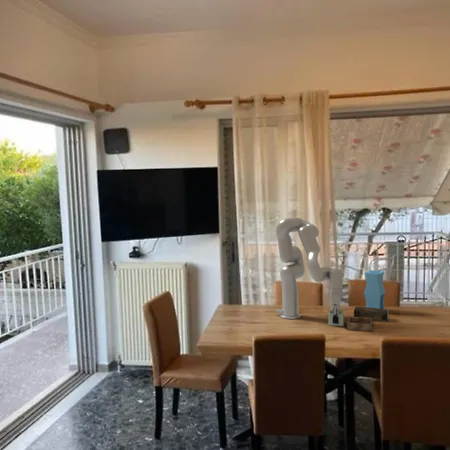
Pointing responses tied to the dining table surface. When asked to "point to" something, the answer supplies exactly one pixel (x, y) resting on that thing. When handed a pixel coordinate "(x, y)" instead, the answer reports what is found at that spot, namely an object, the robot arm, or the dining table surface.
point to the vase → (374, 289)
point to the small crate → (340, 315)
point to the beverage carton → (372, 313)
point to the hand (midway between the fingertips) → (336, 321)
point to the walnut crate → (359, 324)
